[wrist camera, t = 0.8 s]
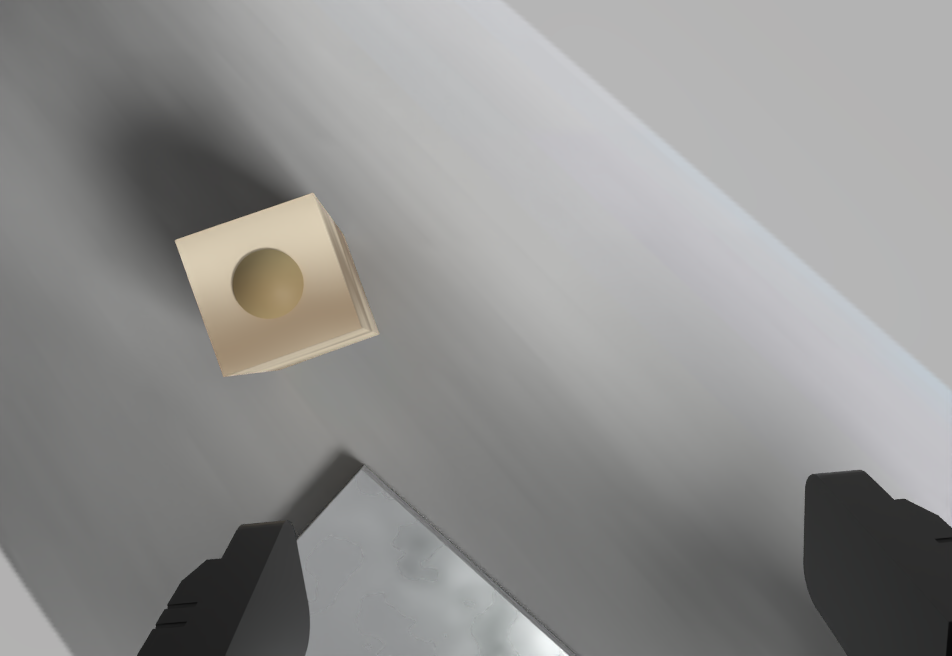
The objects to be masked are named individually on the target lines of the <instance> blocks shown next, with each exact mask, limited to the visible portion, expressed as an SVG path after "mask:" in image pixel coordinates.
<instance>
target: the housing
mask: <svg viewBox="0 0 952 656" xmlns="http://www.w3.org/2000/svg"><path fill="white" fill-rule="evenodd" d="M175 243H176V245H177V248H178V251H179V254H180V257H181V259H182V262H183V265H184V268H185V271H186V273H187V276H188V279H189V282H190V285H191V287H192V290H193V293H194V296H195V299H196V301H197V304H198V307H199V310H200V313H201V315H202V318H203V321H204V324H205V327H206V329H207V332H208V335H209V338H210V341H211V343H212V346H213V349H214V352H215V355H216V357H217V360H218V363H219V366H220V369H221V371H222V374H223V377H227V376H235V375H243V374H251V373H259V372H267V371H276V370H280V369H283V368H286V367H289V366H292V365H295V364H297V363H300V362H303V361H306V360H309V359H311V358H314V357H317V356H320V355H323V354H325V353H328V352H331V351H334V350H337V349H339V348H342V347H345V346H348V345H351V344H353V343H356V342H359V341H362V340H365V339H367V338H370V337H373V336H376V335H379V332H378V329H377V326H376V323H375V321H374V318H373V315H372V312H371V309H370V307H369V304H368V301H367V298H366V296H365V293H364V290H363V287H362V284H361V282H360V279H359V276H358V273H357V270H356V268H355V265H354V262H353V259H352V257H351V254H350V251H349V248H348V245H347V243H346V240H345V237H344V235H343V233H342V232H341V231H340V229H339V228H338V226H337V225H336V224H335V222H334V221H333V220H332V218H331V217H330V215H329V214H328V213H327V211H326V210H325V208H324V207H323V206H322V204H321V203H320V201H319V200H318V199H317V197H316V196H315V195H314V193H311V194H308V195H305V196H302V197H299V198H296V199H293V200H290V201H288V202H285V203H282V204H279V205H276V206H273V207H270V208H267V209H264V210H261V211H258V212H255V213H252V214H249V215H247V216H244V217H241V218H238V219H235V220H232V221H229V222H226V223H223V224H220V225H217V226H214V227H211V228H208V229H206V230H203V231H200V232H197V233H194V234H191V235H188V236H185V237H182V238H179V239H176V240H175Z"/></svg>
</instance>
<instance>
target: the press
mask: <svg viewBox="0 0 952 656" xmlns="http://www.w3.org/2000/svg"><path fill="white" fill-rule="evenodd" d="M296 540H297V546H298V551H299V556H300V561H301V567H302V572H303V577H304V583H305V588H306V593H307V599H308V604H309V612H310V635H309V643H308V648H307V651H306V655H305V656H576V655H575V654H574V653H573V652H572V651H571V650H570V649H569V648H568V647H566V646H565V645H564V644H563V643H562V642H561V641H560V640H559V639H558V638H556V637H555V636H554V635H553V634H552V633H551V632H550V631H549V630H548V629H546V628H545V627H544V626H543V625H542V624H541V623H540V622H539V621H538V620H536V619H535V618H534V617H533V616H532V615H531V614H530V613H529V612H527V611H526V610H525V609H524V608H523V607H522V606H521V605H520V604H519V603H517V602H516V601H515V600H514V599H513V598H512V597H511V596H510V595H509V594H507V593H506V592H505V591H504V590H503V589H502V588H501V587H500V586H499V585H497V584H496V583H495V582H494V581H493V580H492V579H491V578H490V577H489V576H487V575H486V574H485V573H484V572H483V571H482V570H481V569H480V568H479V567H477V566H476V565H475V564H474V563H473V562H472V561H471V560H470V559H468V558H467V557H466V556H465V555H464V554H463V553H462V552H461V551H460V550H458V549H457V548H456V547H455V546H454V545H453V544H452V543H451V542H450V541H448V540H447V539H446V538H445V537H444V536H443V535H442V534H441V533H440V532H438V531H437V530H436V529H435V528H434V527H433V526H432V525H431V524H430V523H428V522H427V521H426V520H425V519H424V518H423V517H422V516H421V515H419V514H418V513H417V512H416V511H415V510H414V509H413V508H412V507H411V506H409V505H408V504H407V503H406V502H405V501H404V500H403V499H402V498H401V497H399V496H398V495H397V494H396V493H395V492H394V491H393V490H392V489H391V488H389V487H388V486H387V485H386V484H385V483H384V482H383V481H382V480H381V479H379V478H378V477H377V476H376V475H375V474H374V473H373V472H372V471H371V470H369V469H368V468H367V467H366V466H365V465H363V466H362V467H361V469H360V470H359V471H358V472H357V473H356V474H355V475H354V476H353V477H352V479H351V480H350V481H349V482H348V483H347V484H346V485H345V486H344V487H343V488H342V490H341V491H340V492H339V493H338V494H337V495H336V496H335V497H334V498H333V500H332V501H331V502H330V503H329V504H328V505H327V506H326V507H325V508H324V509H323V511H322V512H321V513H320V514H319V515H318V516H317V517H316V518H315V519H314V521H313V522H312V523H311V524H310V525H309V526H308V527H307V528H306V529H305V530H304V532H303V533H302V534H301V535H300V536H299V537H298V538H297V539H296Z"/></svg>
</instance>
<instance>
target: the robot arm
mask: <svg viewBox="0 0 952 656" xmlns="http://www.w3.org/2000/svg"><path fill="white" fill-rule="evenodd" d="M803 564H804V574H805V580H806V584H807V588H808V591H809V594H810V597H811V599H812V601H813V603H814V605H815V607H816V608H817V610H818V611H819V613H820V614H821V616H822V617H823V619H824V620H825V622H826V623H827V625H828V627H829V628H830V630H831V631H832V633H833V634H834V636H835V637H836V639H837V640H838V642H839V643H840V645H841V646H842V648H843V649H844V651H845V652H846V654H847V655H848V656H952V528H951V527H950V526H949V525H948V524H947V523H946V522H945V521H944V520H943V519H941V518H940V517H939V516H938V515H936V514H934V513H932V512H930V511H928V510H926V509H924V508H922V507H920V506H918V505H916V504H914V503H912V502H910V501H908V500H906V499H897V500H894V499H893V498H892V497H891V496H890V495H889V494H888V493H887V492H886V491H885V490H884V489H883V488H882V487H880V486H879V485H878V484H877V483H876V482H875V481H874V480H873V479H872V478H871V477H870V476H869V475H868V474H867V473H866V472H865V471H862V470H853V471H842V472H831V473H820V474H812V475H810V476H809V477H808V479H807V482H806V486H805V516H804V558H803ZM309 635H310V612H309V604H308V599H307V593H306V588H305V583H304V577H303V572H302V567H301V561H300V556H299V551H298V546H297V540H296V535H295V531H294V528H293V526H292V524H291V522H290V521H288V520H287V521H276V522H265V523H254V524H243V525H240V526H239V528H238V529H237V531H236V533H235V534H234V536H233V538H232V540H231V542H230V544H229V546H228V547H227V549H226V551H225V553H224V555H223V557H222V558H221V559H210V560H206V561H205V562H204V563H203V564H201V565H200V566H199V567H198V568H197V569H195V570H194V571H193V572H192V573H191V574H190V575H188V576H187V577H186V578H185V579H184V580H182V581H181V583H180V585H179V586H178V588H177V590H176V591H175V593H174V595H173V596H172V598H171V600H170V601H169V603H168V609H165V610H164V611H163V613H162V615H161V616H160V618H159V620H158V621H157V623H156V629H153V630H152V631H151V633H150V635H149V636H148V638H147V640H146V641H145V643H144V645H143V646H142V648H141V650H140V651H139V653H138V655H137V656H305V655H306V651H307V648H308V643H309Z"/></svg>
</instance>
